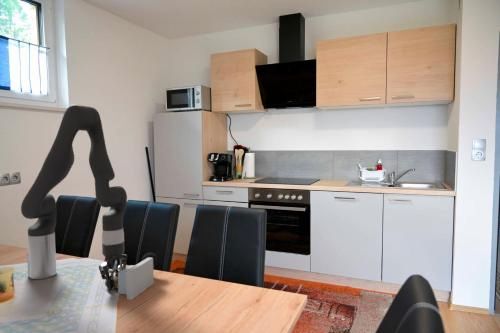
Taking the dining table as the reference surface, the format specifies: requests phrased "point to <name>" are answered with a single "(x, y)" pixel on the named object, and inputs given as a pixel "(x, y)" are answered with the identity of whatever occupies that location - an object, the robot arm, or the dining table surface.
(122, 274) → the sleeve block
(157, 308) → the dining table surface
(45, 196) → the robot arm
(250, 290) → the dining table surface
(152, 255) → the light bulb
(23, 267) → the dining table surface
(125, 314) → the dining table surface
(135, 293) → the base plate
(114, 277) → the dowel
